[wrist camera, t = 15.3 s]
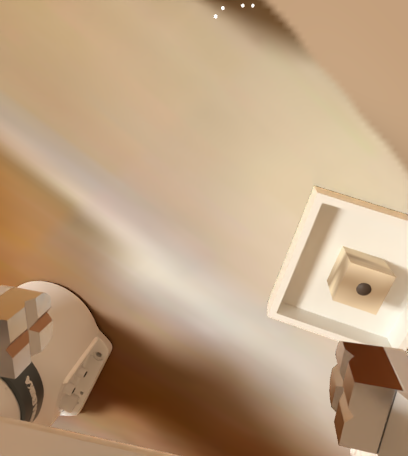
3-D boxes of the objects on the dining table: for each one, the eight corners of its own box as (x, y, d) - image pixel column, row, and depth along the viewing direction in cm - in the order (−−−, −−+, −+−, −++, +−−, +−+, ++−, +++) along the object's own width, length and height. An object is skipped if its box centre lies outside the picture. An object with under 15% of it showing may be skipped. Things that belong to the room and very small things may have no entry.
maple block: (365, 293, 40) (376, 315, 36) (326, 280, 41) (332, 300, 37) (383, 259, 39) (396, 277, 35) (342, 245, 39) (350, 262, 35)
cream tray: (389, 342, 42) (399, 362, 39) (267, 301, 44) (267, 316, 40) (454, 229, 37) (471, 241, 34) (313, 185, 38) (317, 192, 35)
